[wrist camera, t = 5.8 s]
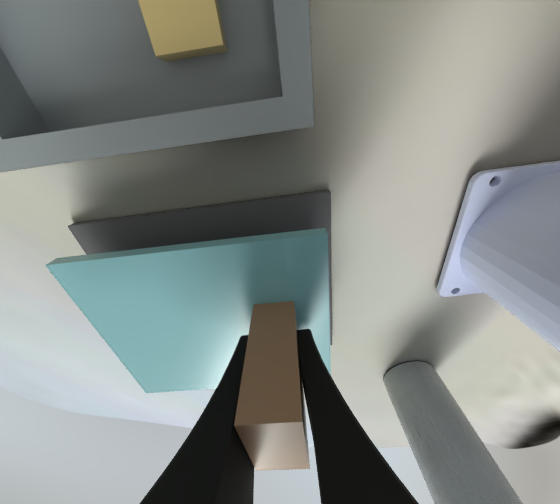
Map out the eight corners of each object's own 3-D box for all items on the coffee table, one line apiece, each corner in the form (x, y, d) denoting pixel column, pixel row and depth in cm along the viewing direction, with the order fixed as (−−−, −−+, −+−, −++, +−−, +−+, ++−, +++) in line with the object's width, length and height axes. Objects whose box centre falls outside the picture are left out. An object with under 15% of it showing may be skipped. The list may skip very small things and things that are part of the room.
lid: (322, 220, 10) (373, 337, 4) (327, 360, 15) (353, 496, 10) (71, 249, 11) (-149, 378, 5) (156, 372, 16) (89, 504, 10)
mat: (328, 189, 11) (330, 191, 11) (330, 340, 17) (332, 344, 17) (73, 223, 12) (67, 226, 12) (160, 357, 18) (158, 361, 18)
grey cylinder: (379, 367, 19) (469, 573, 10) (433, 355, 19) (579, 566, 10) (385, 392, 21) (463, 582, 13) (433, 382, 21) (553, 576, 12)
